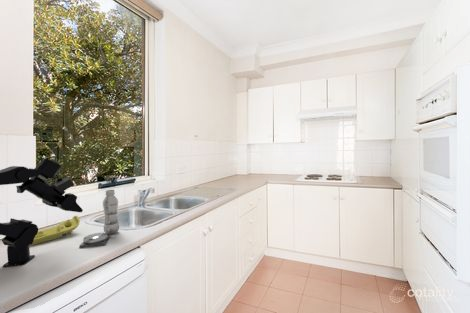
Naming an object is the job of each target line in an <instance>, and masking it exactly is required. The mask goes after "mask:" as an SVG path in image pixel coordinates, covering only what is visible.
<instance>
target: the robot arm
mask: <svg viewBox="0 0 470 313" xmlns="http://www.w3.org/2000/svg"><path fill="white" fill-rule="evenodd" d="M62 168H63V167H62V165H60V164H59V163H58V162H56V161H53V160H51V159H49V158H47V157H45V158H42V159H41V161H40V162H39V163H38V164H37V166H36V167H35V168H30V167H29V168H28V167H27V166H23V165H22V166H18V165H12V166H8V167H6V168H3V169H0V186H5V185H16V184H20V185H16V186H15V187H16V193H17V194H23V193H25V191H27V193H30V194H32V195H34V196H35V197H36V198H38V199H41V201H42V203H43V204H44V205H46V206H48V207H49V206H50V207H54V208H59V209H60V210H63V211H66V212H73V213H74V212H75V213H82V212H83V210H84V209H82V208H83V207H81V206H80V205H79V204H78V203H77V199H78V196H77V195H76V194H74V193H69V192H68V193H66V191H67V190H68V189H69V188H71V187H73V186H74V187H75V183H74V182H73V180H72V178H71V177H64V178H62V177H58V178H55V176H56V175H57V174H58V173H59V171H60V170H61V169H62ZM53 178H55V183H54V184H50V183H48V182H47V181H48V180H52V179H53ZM38 231H39V227H38V225H37V224H35V223H33V221H31V220H26V219H16V218H10V219H9V221H8V222H0V236H4V237H3V238H2V239H1V243H3V245H4V246H7V248H6V253H7V262H6V263H4V264H2V267H3V268H4V267H5V268H6V267H14V266H21V265H26V264H28V263H29V261H31V260H32V259H33V258H35V257H36V255H35V254H33V255H31V252H30V250H31V249H30V246H32V245H31V244H33V241H34V238H35V236H36V235H37V233H38Z"/></svg>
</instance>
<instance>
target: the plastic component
mask: <svg viewBox="0 0 470 313" xmlns="http://www.w3.org/2000/svg"><path fill="white" fill-rule="evenodd" d="M80 223H81V222H80V218H79V217H78V215H74V216H73V217H72V218H71V219H67V220H64V221H62V222H60V223H59V224H58V225H55V226H51V227H47V228H44V229H43V228H42V229H40V230H39V229H38V233H37V235H36V236H35V238H34V241H33V244H31V245H30V246H35V245H39V244H42V243H45V242H49V241H53V240H55V239H58V238H61V237H62V236H63V235H64V234H65V235H69V234H72V232H73V231H75V229H77V228H78V227H79V225H80Z"/></svg>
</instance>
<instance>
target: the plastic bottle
mask: <svg viewBox="0 0 470 313" xmlns="http://www.w3.org/2000/svg"><path fill="white" fill-rule="evenodd" d="M102 201H103V202H102V207H103V208H102V209H103V212H104V225H103V231H104V232H103V233H106V234H107V235H113V234H117V233H118V232H119V230H120V223H119V219H118V217H119V216H118V208H119V200H118V198H117V197H116V195H115V190H114V189H109V190H105V197H104V198H103V200H102Z"/></svg>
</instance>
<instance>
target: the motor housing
mask: <svg viewBox="0 0 470 313" xmlns="http://www.w3.org/2000/svg"><path fill="white" fill-rule="evenodd" d="M110 238H111V234H106V233H105V232H97V233H92V234H91V233H90V234H88V235H86V236H84V237H83V240H82V242H81V243H80V244H79V249H83V248H92V247H102V246H105V245H106V244H107V242H108V241H109V239H110Z"/></svg>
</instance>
